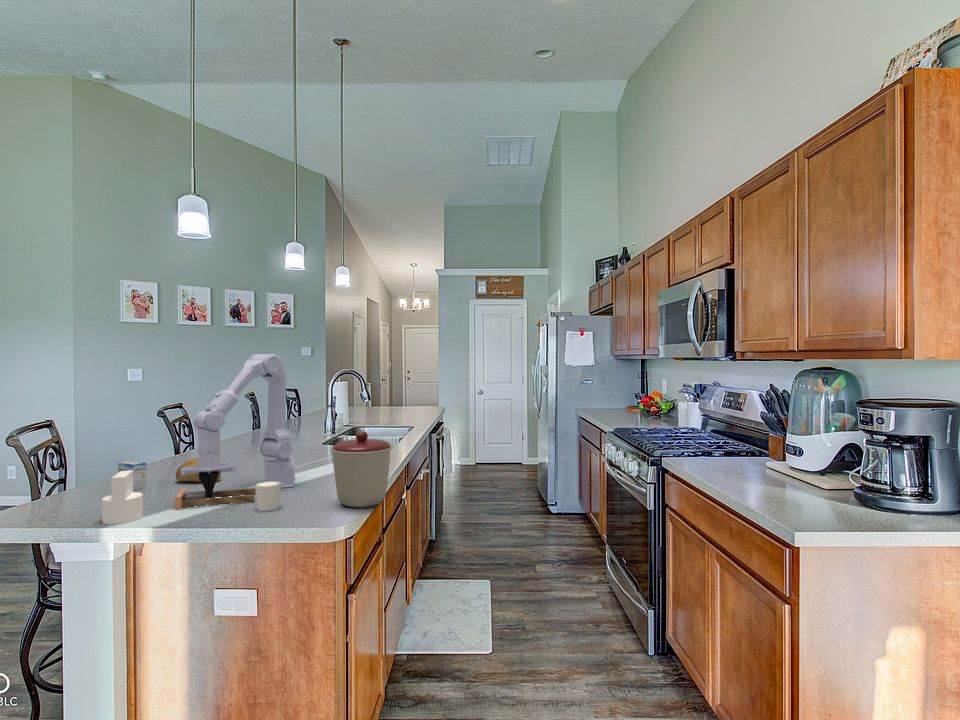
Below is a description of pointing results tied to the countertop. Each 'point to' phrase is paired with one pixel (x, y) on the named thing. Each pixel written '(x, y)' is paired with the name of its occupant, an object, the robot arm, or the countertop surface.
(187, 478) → the bread roll
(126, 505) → the base with upright slab
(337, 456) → the canister
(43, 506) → the countertop surface
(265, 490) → the white cylinder
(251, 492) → the rail lane
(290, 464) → the robot arm
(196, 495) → the block
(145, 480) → the medicine box
